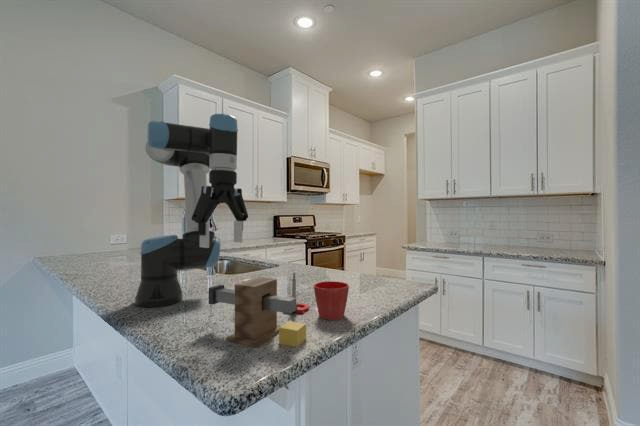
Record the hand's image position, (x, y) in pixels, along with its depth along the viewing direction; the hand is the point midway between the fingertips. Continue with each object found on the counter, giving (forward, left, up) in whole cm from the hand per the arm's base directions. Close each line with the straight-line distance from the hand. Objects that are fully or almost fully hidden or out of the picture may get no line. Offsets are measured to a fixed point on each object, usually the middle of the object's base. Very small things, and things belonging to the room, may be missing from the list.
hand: (222, 244), depth 88 cm
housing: (+14, -2, -23) cm, 27 cm away
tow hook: (+13, +21, -23) cm, 34 cm away
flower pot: (+26, +20, -23) cm, 40 cm away
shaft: (+12, -2, -16) cm, 20 cm away
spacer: (+24, -2, -19) cm, 31 cm away
